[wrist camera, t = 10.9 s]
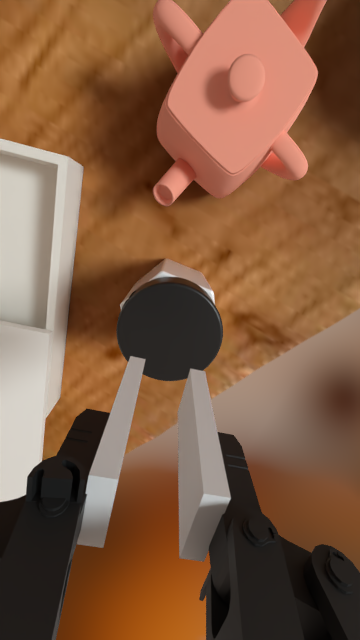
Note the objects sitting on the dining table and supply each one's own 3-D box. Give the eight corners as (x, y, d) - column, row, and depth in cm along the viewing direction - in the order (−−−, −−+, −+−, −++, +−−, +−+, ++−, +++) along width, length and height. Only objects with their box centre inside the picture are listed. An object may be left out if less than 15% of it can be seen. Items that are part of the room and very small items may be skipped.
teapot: (269, 215, 28) (318, 208, 18) (158, 210, 28) (148, 201, 18) (293, 43, 23) (375, -86, 14) (159, 34, 23) (148, -103, 13)
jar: (130, 263, 29) (102, 285, 18) (201, 252, 29) (217, 268, 18) (144, 335, 32) (128, 392, 21) (209, 326, 32) (228, 379, 21)
